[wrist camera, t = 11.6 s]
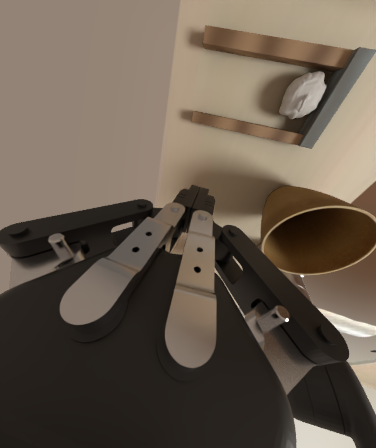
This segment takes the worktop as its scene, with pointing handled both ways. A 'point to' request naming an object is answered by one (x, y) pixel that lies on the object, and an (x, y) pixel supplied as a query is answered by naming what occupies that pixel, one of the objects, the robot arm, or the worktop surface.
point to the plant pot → (314, 232)
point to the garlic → (303, 95)
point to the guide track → (298, 55)
